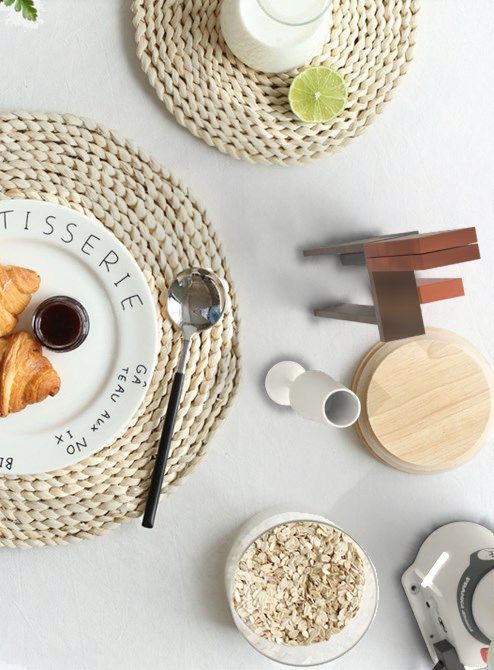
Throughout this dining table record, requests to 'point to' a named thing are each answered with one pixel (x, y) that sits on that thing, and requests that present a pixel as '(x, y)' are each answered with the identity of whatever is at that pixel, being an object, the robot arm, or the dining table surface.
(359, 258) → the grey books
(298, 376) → the champagne flute
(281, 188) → the dining table surface
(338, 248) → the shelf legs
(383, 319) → the shelf
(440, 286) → the terracotta book
